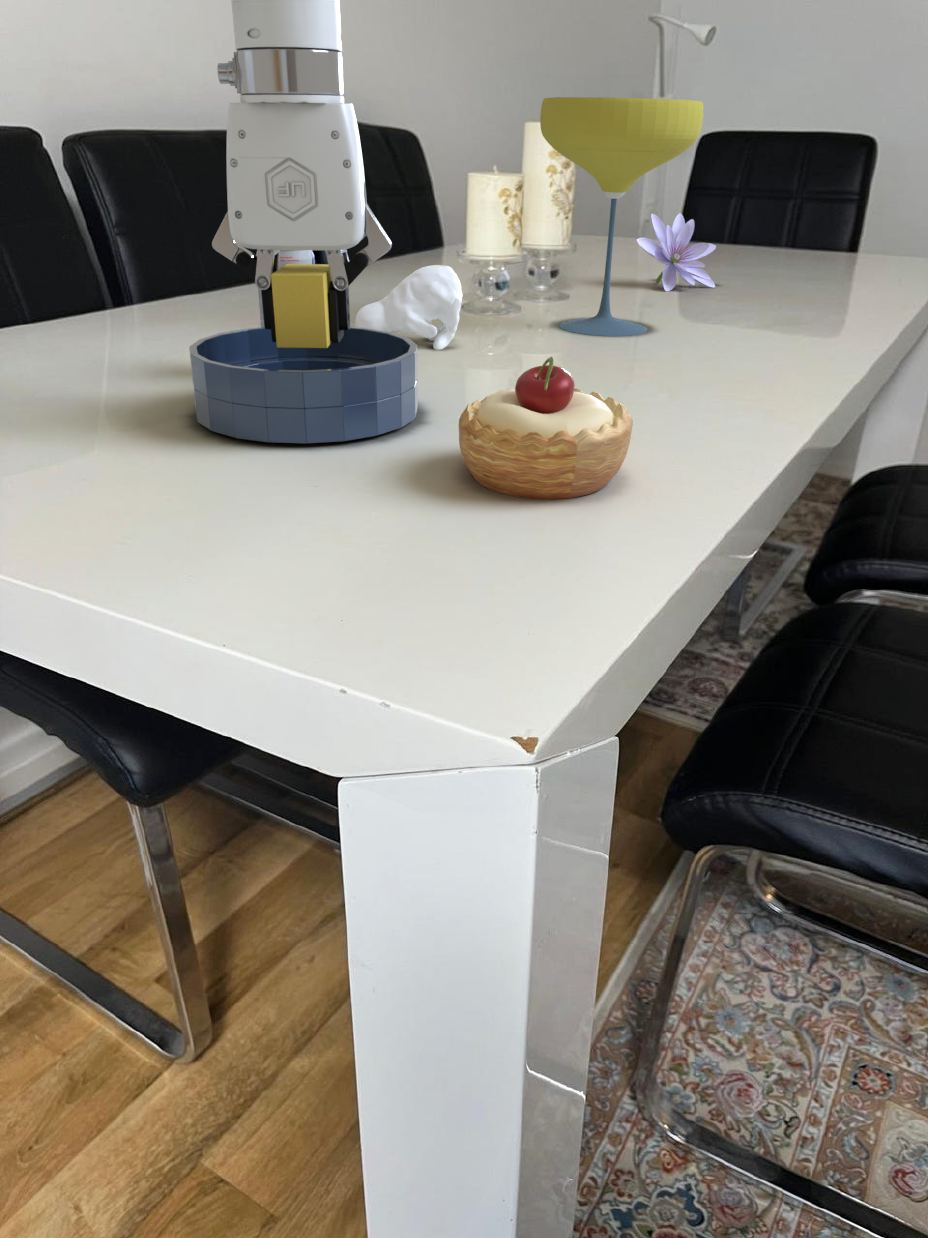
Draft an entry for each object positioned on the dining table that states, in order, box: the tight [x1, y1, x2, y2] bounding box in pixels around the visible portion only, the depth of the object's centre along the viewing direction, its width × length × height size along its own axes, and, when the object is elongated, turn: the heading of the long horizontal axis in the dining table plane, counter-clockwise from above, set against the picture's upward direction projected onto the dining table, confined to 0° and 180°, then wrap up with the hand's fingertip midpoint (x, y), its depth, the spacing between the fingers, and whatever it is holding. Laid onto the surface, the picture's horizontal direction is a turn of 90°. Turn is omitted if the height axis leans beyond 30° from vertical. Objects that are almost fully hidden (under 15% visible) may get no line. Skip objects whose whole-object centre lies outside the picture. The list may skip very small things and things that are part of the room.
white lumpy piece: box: [354, 264, 464, 351], centre depth 106 cm, size 6×8×12 cm
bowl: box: [188, 326, 419, 444], centre depth 80 cm, size 18×18×6 cm
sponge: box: [271, 263, 332, 348], centre depth 77 cm, size 4×6×6 cm, turn 178°
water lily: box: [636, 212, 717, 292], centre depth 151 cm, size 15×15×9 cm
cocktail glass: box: [539, 96, 704, 337], centre depth 113 cm, size 18×18×25 cm
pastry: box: [458, 356, 634, 500], centre depth 66 cm, size 12×12×9 cm
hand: (308, 336), depth 78 cm, fingers closed on sponge, 4 cm apart
